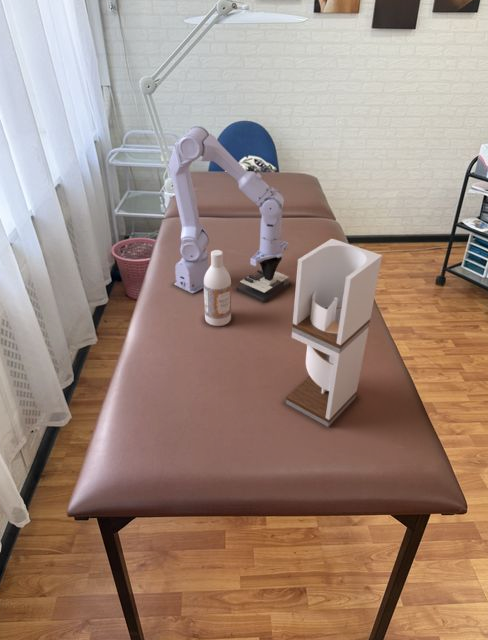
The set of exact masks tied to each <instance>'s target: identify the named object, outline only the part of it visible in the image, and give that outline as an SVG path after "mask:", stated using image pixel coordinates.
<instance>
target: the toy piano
mask: <svg viewBox="0 0 488 640" xmlns="http://www.w3.org/2000/svg"><path fill="white" fill-rule="evenodd" d="M255 277H257V278H258V279H257V281H260V279H261V278H263V277H264V275H263V274H260V273H258V274H256V275H255ZM291 283H292V281H290V280H288V279H285V280H284V281H282V282H280V281H278V280H277V282H276V283H274V284H272V285H271V287H273V288H271V289H270V290H268V289H267V290H268V291H266V292H265V293H264V292H262V291H259V290H257V289H255V288H253V287H250V286H248V285H246V284H244V283H241V284H239V285H238V286H236V291H237V292H239V293H240V294H243V295H246V296H247V297H249V298H252V299H253V300H256V301H258V302H259V303H263V304H264V303H266V302H268V301H269V300H270V299H272V298H273V297H275V296H277V295H278V294H280V293H281V292H282V291H284V290H286V289H287V288H289V287H290V286H291ZM258 286H259V285H258Z"/></svg>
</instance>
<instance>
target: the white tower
mask: <svg viewBox="0 0 488 640" xmlns="http://www.w3.org/2000/svg"><path fill="white" fill-rule="evenodd" d="M382 259H383V255H382V254H379V253H376V252H374V251H371V250H368V249H366V248H362V247H358V246H356V245H352V244H350V243H347V242H343V241H341V240H338V239H335V238H330V239H328V240H327V241H326V242H323V243H322V244H320V245H319V246H317V247H316V248H314V249H313V250H311V251H309V252H308V253H305V254H304V255H303V256H301V257H299V258H297V269H296V270H297V271H296V279H295V280H296V281H295V290H294V292H295V293H294V302H293V303H294V304H293V314H292V315H293V316H292V326H291V338H292V339H294V340H296V341H298V342H301V343H302V344H305V345H306V352H305V353H306V354H305V368H306V371H307V374H308V377H306V378H305V379H304V380H303V381H302V382H301V383H300V384H299V385H297V386H296V387H295V388H294V389H293V390H292V391H290V393H289V394H288V395H287V396H286V399H285V404H286V405H288V406H289V407H292V408H293V409H295V410H297V411H299V412H300V413H302V414H304V415H305V416H308V417H309V418H311V419H313V420H315V421H316V422H318V423H321V424H322V425H323V426H325V427H327V428H328V427H330V426H331V424H333V423H334V422H335V421H336V419H338V417H339V416H340V415H341V414H342V413H343V412H344V411H345V410H346V408H348V407H349V405H351V404H352V402H353V401H354V400H355V399H356V398H357V392H358V387H359V381H360V377H361V376H360V375H361V370H362V367H363V361H364V355H365V351H366V344H367V339H368V333H369V328H370V323H371V318H372V313H373V308H374V301H375V298H376V297H375V296H376V291H377V286H378V285H377V284H378V281H379V274H380V270H381V265H382Z"/></svg>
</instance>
